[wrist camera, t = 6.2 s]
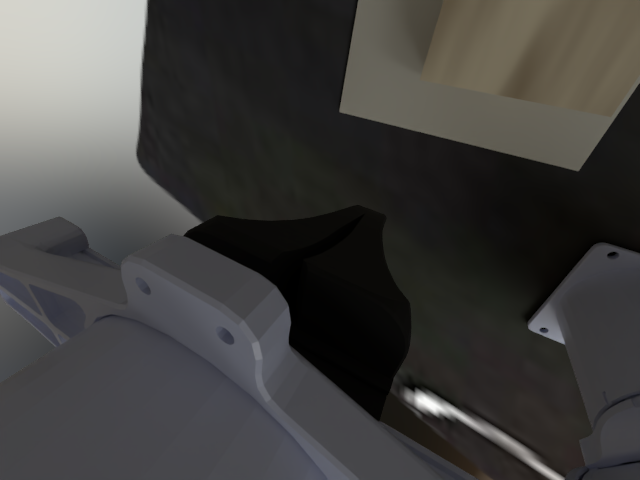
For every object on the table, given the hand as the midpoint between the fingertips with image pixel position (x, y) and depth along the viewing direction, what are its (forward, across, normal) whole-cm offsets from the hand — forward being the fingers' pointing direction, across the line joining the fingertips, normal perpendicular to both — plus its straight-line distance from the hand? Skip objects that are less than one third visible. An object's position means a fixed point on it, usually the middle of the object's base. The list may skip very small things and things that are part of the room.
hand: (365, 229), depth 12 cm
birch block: (+8, +1, -8) cm, 11 cm away
